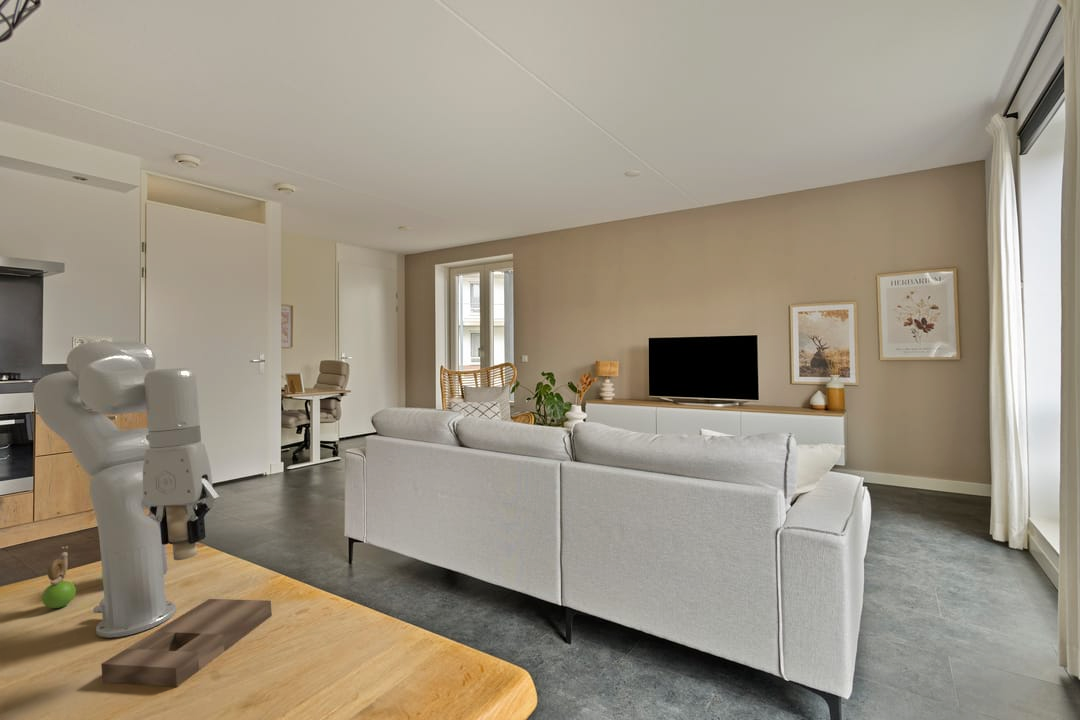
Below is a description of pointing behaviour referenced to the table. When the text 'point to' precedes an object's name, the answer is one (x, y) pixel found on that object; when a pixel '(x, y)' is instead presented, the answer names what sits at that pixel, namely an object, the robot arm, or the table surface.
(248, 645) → the table surface
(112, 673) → the walnut board
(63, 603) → the snail figurine
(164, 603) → the robot arm
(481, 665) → the table surface
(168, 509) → the beech leg
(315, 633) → the table surface
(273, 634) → the table surface
